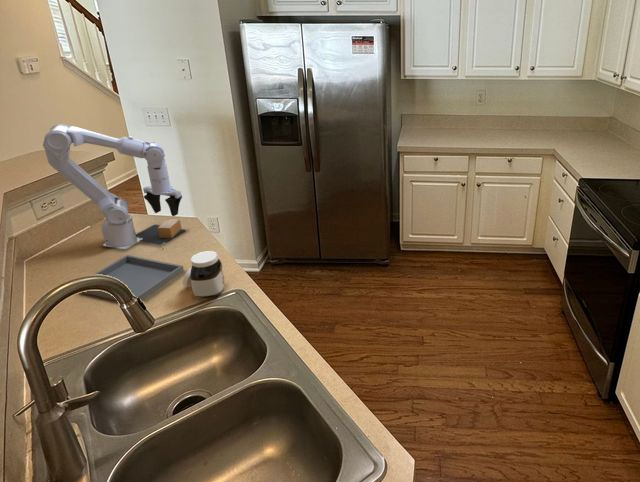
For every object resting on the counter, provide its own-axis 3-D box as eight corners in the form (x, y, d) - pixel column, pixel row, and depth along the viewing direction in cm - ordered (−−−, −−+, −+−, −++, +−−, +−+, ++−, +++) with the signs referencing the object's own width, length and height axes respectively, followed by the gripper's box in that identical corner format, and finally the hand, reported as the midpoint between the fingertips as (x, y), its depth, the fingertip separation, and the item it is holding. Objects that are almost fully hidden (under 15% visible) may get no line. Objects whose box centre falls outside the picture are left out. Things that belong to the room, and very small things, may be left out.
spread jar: (220, 300, 121) (214, 265, 117) (177, 304, 119) (169, 268, 115) (229, 277, 132) (224, 244, 128) (190, 280, 130) (183, 246, 126)
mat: (128, 240, 152) (127, 238, 152) (154, 226, 163) (154, 224, 163) (160, 246, 149) (160, 244, 149) (185, 231, 160) (185, 229, 159)
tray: (76, 292, 123) (74, 284, 122) (128, 261, 139) (127, 254, 138) (137, 306, 118) (135, 298, 117) (184, 272, 134) (182, 265, 133)
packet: (159, 237, 153) (157, 227, 152) (169, 228, 160) (167, 219, 158) (171, 238, 153) (169, 228, 152) (181, 229, 160) (179, 219, 158)
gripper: (185, 176, 150) (191, 211, 155) (151, 171, 154) (159, 206, 159) (169, 183, 144) (176, 219, 149) (135, 178, 148) (143, 214, 153)
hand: (166, 213), depth 154 cm, fingers open, 7 cm apart
